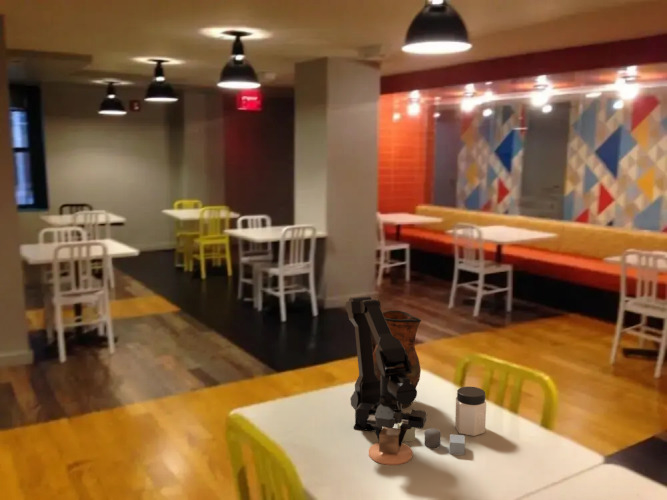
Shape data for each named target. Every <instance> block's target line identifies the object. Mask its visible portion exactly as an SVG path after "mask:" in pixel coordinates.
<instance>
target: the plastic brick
mask: <svg viewBox="0 0 667 500" xmlns="http://www.w3.org/2000/svg"><path fill="white" fill-rule="evenodd" d="M465 439H466V438H465V434H449V448H448V449H449V451H448V453H449V455H460V456H465V445H466V443H465Z"/></svg>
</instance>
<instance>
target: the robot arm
mask: <svg viewBox="0 0 667 500" xmlns="http://www.w3.org/2000/svg"><path fill="white" fill-rule="evenodd" d="M381 307H382V306H381V302H380V300H378V299H376V298H374V299H372V297H371V296H370V295H365V296H353V297H349V299H348V301H346V303H345V310H346V313H347V316H348V320H349V321H350V323H352V325H353V327H354V332H355V333H354V334H355V344H356V354H357V356H356V357H357V363H358V364H357V365H358V376H357V377H358V378H357V380H356V381H355V383H354V392H353V393H352V395H351V397H350V405H351V407H352V408H353V409H354V412H355V413H354V417H355V418H354V420H355V421H354V422H355V423H354V425H353V429H355V430H362V431H370V432H374V433H375V434H376V437H377V440H378V441H379V434H380V432H381V431H382V429H383V427H387V428H395V427H394V426H395V425H398V423H401V422H402V424H401V426H400V438H399V447H401V445H402V443H404V441H403V439H404V436H405V434H406V431H407V429H411V428H412V427H414V428H415V429H423V428H424V427H425V425H426V423H427V420H428V419H427V415H428V413H427V412H426V410H421V409H416V408H415V409H414V408H412V409H411V411H410V412H403V411H402V410H403V408H402V404H403V405H408V404H410V403H411V404H412V403H413V402H414V401H415V400H416V398H417V395H418V390H417V387H416V388H415V386H414V385H413V384H412V383H410V378H408V377H406V374H411V373H412V372H411V367H412V366H411V363H410V360H409V357H408V354H407V352H406V350H405V348H404V347H403V345H402V344H401V342H400V340H398V339H397V338H395V337H394V336H393V335H392V333H391V331H390V329H389V327H388V324H387V322H386V320H385V317H384V315H383V313H382V312H383V311H382V308H381ZM372 336H373V338H374V341H375V345H377V349H376V360H377V363H378V366H379V369H380V371H381V380H379V379H378V378H377V377H376V375H375V369H374V359H373V346H372V340H373V339H372ZM403 364H404V367H400V368H395V367H396V366H402V365H403Z"/></svg>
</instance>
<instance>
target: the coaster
mask: <svg viewBox="0 0 667 500" xmlns="http://www.w3.org/2000/svg"><path fill="white" fill-rule="evenodd" d="M368 456H369V458H370V459H371V460H372V461H374V462H375V463H379V464H382V465H387V466H388V465H389V466H397V465H404V464H406V463H408V462H409V461H411V460H412V458H413V450H412V448H411V447H410V446H409V445H407V444H405V443H404V442H402V445H401V448H400V450H399V452H398V454H392V453H385V452H379V442H376V443H374V444H372V445H371V446H370V447H369V448H368Z"/></svg>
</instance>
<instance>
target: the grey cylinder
mask: <svg viewBox="0 0 667 500" xmlns="http://www.w3.org/2000/svg"><path fill="white" fill-rule="evenodd" d="M441 435H442V434H441V430H440V429H437V428H430V427H429V428H427V429H425V430H424V446H425V447H426V448H427V449H434V450H435V449H440V447H441Z"/></svg>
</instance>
